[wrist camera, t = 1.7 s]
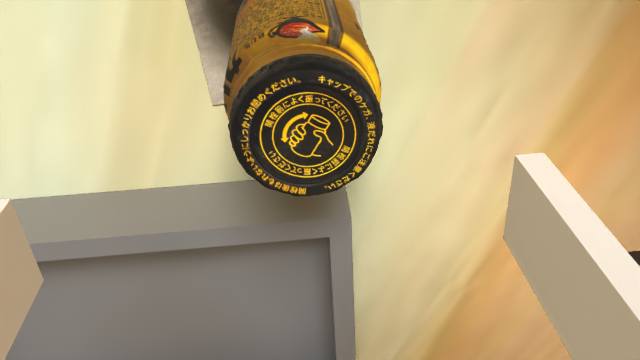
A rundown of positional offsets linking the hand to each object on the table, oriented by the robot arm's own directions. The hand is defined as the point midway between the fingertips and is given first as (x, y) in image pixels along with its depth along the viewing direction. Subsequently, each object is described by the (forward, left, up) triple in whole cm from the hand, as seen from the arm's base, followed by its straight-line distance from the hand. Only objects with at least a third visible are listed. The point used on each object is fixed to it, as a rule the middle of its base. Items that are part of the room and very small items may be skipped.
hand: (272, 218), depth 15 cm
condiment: (0, 0, -17) cm, 17 cm away
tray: (+10, +17, -16) cm, 26 cm away
